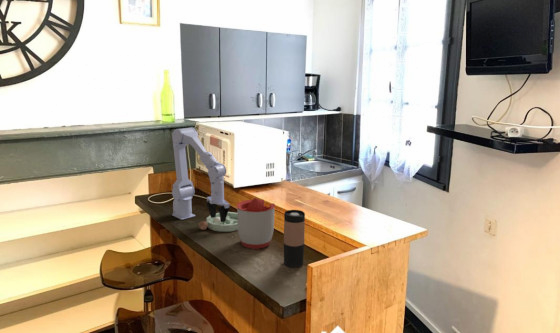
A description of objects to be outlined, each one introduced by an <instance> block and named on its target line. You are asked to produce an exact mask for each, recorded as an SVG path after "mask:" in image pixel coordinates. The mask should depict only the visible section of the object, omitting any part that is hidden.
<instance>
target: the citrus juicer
mask: <svg viewBox="0 0 560 333" xmlns="http://www.w3.org/2000/svg"><path fill="white" fill-rule="evenodd" d="M236 208H237V209H236V211H237V212H236V213H237V217H238V230H237V233H238V236H239V241H240V242H241V244H242V246H243V247H245V248H247V249H253V250H257V249H263V248H266V247H268V246H269V245H270V244H271V242H272V238H273V235H274V229H275V213H276V211H275V208H276V205H275V203H274V202H273V203H271V204H269V206H266V205H265V200H264V199H260V198H259V199H258V198H257V197H255V198H253V199H245V200H242V201H239V202H238V203H237V204H236Z"/></svg>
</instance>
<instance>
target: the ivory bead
mask: <svg viewBox="0 0 560 333" xmlns="http://www.w3.org/2000/svg"><path fill="white" fill-rule="evenodd" d="M214 223H215V224H222V222H221V220H220V217H216V218H215V219H214Z"/></svg>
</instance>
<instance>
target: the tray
mask: <svg viewBox="0 0 560 333" xmlns="http://www.w3.org/2000/svg"><path fill="white" fill-rule="evenodd" d="M216 217H220V214H219V212H216ZM216 217H213V218H211V216H210V215H209V216H207V217H206V222H207V224H208V227H207V228H208V229H209V230H211V231H214V232H222V233H227V232H228V233H229V232H235V231H238V217H237V212H234V211H228V213H227V216H226V220H225V222H222V224H215V223H214V219H215V218H216Z"/></svg>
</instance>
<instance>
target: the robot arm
mask: <svg viewBox="0 0 560 333" xmlns="http://www.w3.org/2000/svg"><path fill="white" fill-rule="evenodd" d="M171 137H172V138H171V139H172V146H173V154H174V155H173V156H174V157H173V158H174V165H175V174H176V176H175V177H176V180H175V182H174V183H172V191H171V194H172V197H173V201H172V202H173V203H172V210H173V212H172V214H171V216H173V217H175V218H177V219H179V220H186V219H190V218H194V217H196V214H194V213H192V212H193V210H192V199H193V196H195V192H196V191H195V187H194V182H193V181H191V180H190V179H189V173H188V164H187V162H188V161H187V154H186V153H187V152H186V148H187V146H188V145H190V146H191V147H192V149H194V150H195V152H197V154H198V155H199V156H200V158H199V160H200V161H201V163H202V164H203V165H204V166H205V168H206V170H207V175H208V177H209V182H210V193H211V195H210V196H207V197H206V203H205V206H206V207H207V209H208V211H209V216H211V218H213V217H216V213H217V210H218V213H219V214H220V220H221V222H225V220H226V216H227V213H228V212H230V209H231V206H230V203H229V202H228V201H227V200H226V199H225V185H224V184H225V182H224V181H225V179H224V176H226V174H227V167H226V166H225V164H224V163H221V162H220V161H219V162H218V159H217V158H215V156H214V155H213V153H212V152H211V151H207V149H206V148H205V147H204V144H203V143H202V142H201V140H200V138H199V132H197V131H196V129H195V128H194V127H193V126H190V127H185V128H184V127H183V128H176V129H174V130H173V132H172V133H171ZM217 206H220V207H217Z"/></svg>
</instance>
